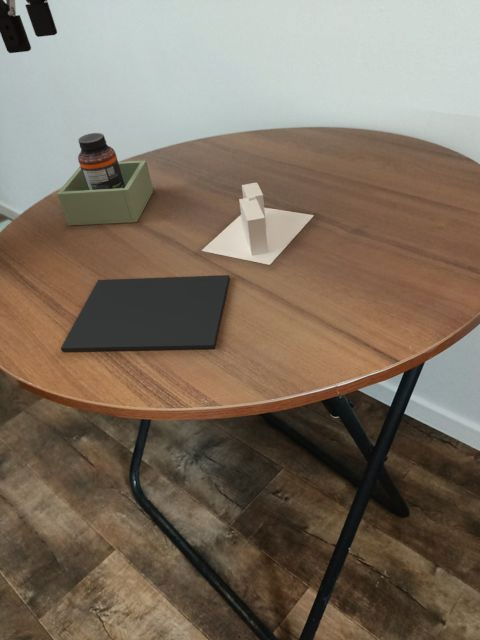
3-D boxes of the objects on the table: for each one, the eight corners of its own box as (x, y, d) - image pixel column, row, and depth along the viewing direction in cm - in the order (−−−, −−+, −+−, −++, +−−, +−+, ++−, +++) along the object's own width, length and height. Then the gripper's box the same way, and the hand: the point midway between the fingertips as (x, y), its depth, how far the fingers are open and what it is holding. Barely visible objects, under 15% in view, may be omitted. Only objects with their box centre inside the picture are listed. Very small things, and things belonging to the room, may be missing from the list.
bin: (68, 225, 85) (56, 193, 81) (91, 194, 93) (81, 164, 90) (137, 222, 83) (128, 189, 80) (153, 190, 92) (146, 160, 88)
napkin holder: (271, 265, 70) (267, 226, 66) (200, 251, 75) (193, 214, 71) (314, 214, 80) (313, 178, 76) (249, 205, 84) (245, 170, 80)
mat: (62, 352, 60) (60, 348, 60) (99, 283, 71) (97, 279, 70) (214, 348, 58) (213, 344, 58) (229, 278, 69) (229, 274, 68)
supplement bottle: (103, 196, 91) (82, 130, 83) (134, 196, 90) (116, 129, 82) (88, 212, 87) (64, 144, 79) (121, 213, 85) (100, 143, 78)
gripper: (-19, -116, 69) (33, 32, 80) (-93, -115, 56) (-19, 61, 67) (35, -124, 68) (79, 27, 79) (-28, -125, 55) (35, 55, 66)
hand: (34, 43), depth 73 cm, fingers open, 9 cm apart
